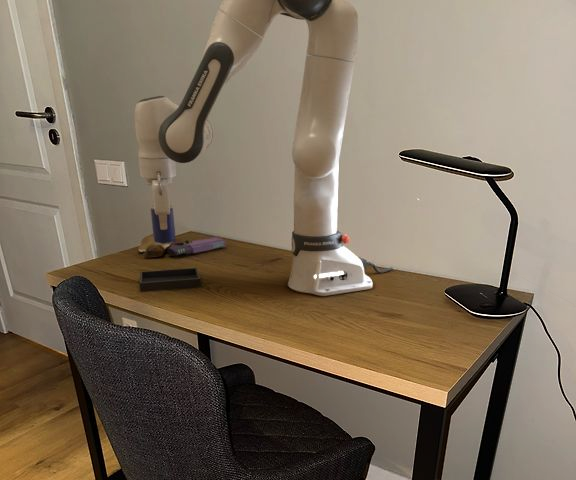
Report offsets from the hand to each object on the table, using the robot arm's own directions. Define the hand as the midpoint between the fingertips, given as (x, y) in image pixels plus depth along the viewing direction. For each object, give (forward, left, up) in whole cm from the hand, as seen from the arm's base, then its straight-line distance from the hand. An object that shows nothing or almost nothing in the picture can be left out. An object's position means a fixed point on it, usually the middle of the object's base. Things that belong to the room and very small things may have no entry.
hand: (163, 225), depth 149 cm
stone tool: (+2, -37, -16) cm, 41 cm away
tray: (0, 0, -15) cm, 15 cm away
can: (0, 0, -4) cm, 4 cm away
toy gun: (-9, -32, -16) cm, 37 cm away
